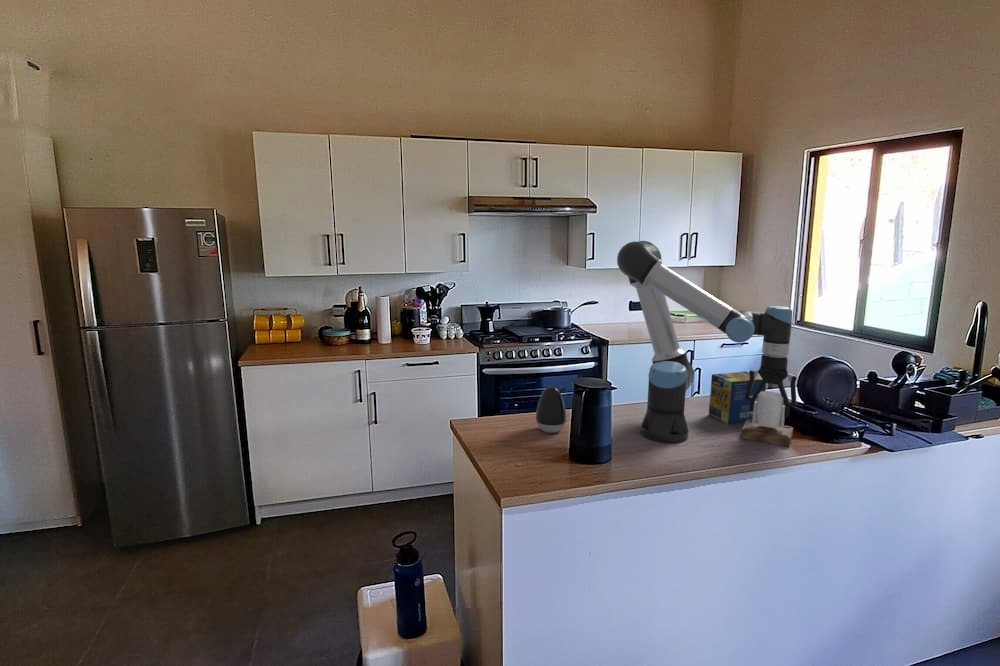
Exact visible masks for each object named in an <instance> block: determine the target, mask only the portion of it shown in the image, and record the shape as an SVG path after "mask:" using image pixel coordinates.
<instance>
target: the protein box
mask: <svg viewBox="0 0 1000 666" xmlns="http://www.w3.org/2000/svg"><path fill="white" fill-rule="evenodd" d="M710 379H711V381H710V392H709V407H708V416H709V417H712V418H714V419H717V420H719V421H721V422H722V423H725V424H726V425H729V424H732V425H734V424H741V423H745V422H746V420H753V412H751V411H750V401H749V400H746V399H745V395H746V391H747V387H748V384H749V380H750V374H749V372H748V371H737V372H725V373H713V374H711V378H710ZM762 380H763V379H762V377H761V376H760V375H757V376H756V377H755V379H754V383H753V387H752V390H751V394H750V396H752V397H753V395H754V394H755V392H756V390H757V388H758V387H759V385H760V383H761V382H762ZM766 386H767V383H765V385H764V386H763V388H762V390H761V391H760V392H762V391H766V389H767V387H766ZM755 401H757V398H756V400H755ZM756 420H757V415H756Z"/></svg>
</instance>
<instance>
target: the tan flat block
mask: <svg viewBox="0 0 1000 666" xmlns="http://www.w3.org/2000/svg"><path fill="white" fill-rule="evenodd" d="M780 425H781V424H780ZM780 425H779V427H776V428H770V427H764V426H761V425H759V424H757V422H756V421H755V423H754V422H752V420H746V422H744V425H743V426H742V428H741V431H740V432H741V434H740V438H741V439H744V440H745V439H746V440H750V441H751V440H752V441H755V442H761V443H766V444H767V443H768V444H771V445H777V446H782V447H787V448H790V445H791V442H792V440H793V433H794V427H792V426H790V425H785V424H784V426H783V427H780Z"/></svg>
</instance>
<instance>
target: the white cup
mask: <svg viewBox="0 0 1000 666" xmlns="http://www.w3.org/2000/svg"><path fill="white" fill-rule="evenodd" d="M783 399H784V398H782V396H781V393H779V392H775V391H766V390H765V391H762V392H760V393H759V394H758V396H757V420H756V422H757V424H759V425H761V426H764V427H770V428H776V427H779V425H781V415H782V407H783V405H784V402H783Z"/></svg>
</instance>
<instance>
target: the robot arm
mask: <svg viewBox="0 0 1000 666" xmlns="http://www.w3.org/2000/svg"><path fill="white" fill-rule="evenodd" d="M616 262H617V263H616V264H617V267H618V269H619V270H620V271H621V272H622V274H624V275H625V276H627V278H628V281H629V285H630V286H632V287H634V288H635V289H636V292H637V295H638V300H639V303H640V306H641V309H642V314H643V317H644V320H645V324H646V328H647V331H648V335H649V339H650V342H651V343H650V344H651V345H652V350H653V354H654V355H652V356H653V357H652V358H651V362H652V364H651V365H650V367H649V371H648V374H647V375H648V385H647V387H648V388H647V406H646V407H647V408H646V412H645V414H644V417H643V419H642V421H641V424H640V431H639V432H640V434H641V435H642V436H643V437H644V438H647V439H649V440H652V441H656V442H662V443H663V442H664V443H679V442H684V441H687V439H688V438H689V428H688V427H689V426H688V424H687V420H686V416H685V407H686V406H685V404H686V394H687V391H688V390H689V388H690V386H691V385H692V384H693V381H694V377H695V371H694V368H693V365H692V364H691V363H690V361H689V359H688V356H687V352H686V350H684V349H683V348H681V347H680V344H679V342H678V338H677V337H678V336H677V333H676V331H675V330H676V329H675V327H674V323H673V319H672V316H671V313H670V310H669V305H668V302H667V297H668V298H669V299H670V300H672V301H674V302H676V303H677V304H678V305H680V306H681V307H683V308H685V309H687V310H688V311H690V312H691V313H693V314H695V315H696V316H697V317H699V318H700V319H701V320H704V321H705V322H707V323H709V324H710V325H712V326H713V327H715V328H716V329H718V330H720V332H722V333H724V334H725V335H726V336H727V337H728V338H729V340H731V341H732V342H734V343H739V344H741V343H745V342H747V341H749V340H750V339H751V338H752V337H753V336H762V337H763V338H762V339H763V340H762V349H761V352H762V355H761V358H760V359H761V360H760V367H759V369H750V370H749V372H748V373H749V374H750V380H749V384H748V387H747V391H746V395H745V399H746V400H749V401H750V411H751V412H753V420H752V422H754V423H755V421H756V415H757V401H755V400H756V398H757V396H758V394H759V393H760V391H761V390H762V388H763V386H764V385H765V383H766V384H771V385H772V384H773V385H774V386H776V385H777V388H778V390H779V392H780V393H779V394H781V396H782V398H784V399H783V402H784V404H783V407H782V415H781V419H780V427H783V426H784V425H785V418H788V417H789V415H790V409H791V408H796V406H797V392H796V391H797V389H796V387H797V386H796V381H797V378H798V374H797V375H796V374H791V373H789V372H788V362H789V361H788V360H789V358H788V356H789V353H790V343H791V342H790V341H791V332H792V326H793V325H792V324H793V309H792V308H790V307H788V306H783V305H782V306H781V305H769V306H767V307H766V309H765V311H751V310H738V309H735V308H733V307H731V306H729V305H728V304H727V303H725V302H723V301H722V300H720V299H718V298H716V297H715V296H713V295H712V294H710V293H709V292H707V291H705V290H704V289H702V288H700V287H699V286H697V285H696V284H694V283H692V282H691V281H690V280H688V279H686V278H685V277H683V276H681V275H680V274H678V273H677V272H675V271H673V270H671V269H670V268H668V267H667V266H665V265H664V264H663V262H662V253H661V251H660V249H659V248H658V247H657V246H656V244H654V243H652V242H650V241H647V240H638V241H630V242H627V243H626V244H624V245H623V246H622V247H621V248H620V249H619V252H618V253H617V258H616ZM758 374H759V376H760V377H762V379H763V380H762V382H761V383H760V385H759V387H758V388H757V390H756V392H755V394H754V395H753V397H752V396H750V394H751V390H752V387H753V383H754V379H755V377H756V376H758ZM787 378H788V382H790V386H789V387H790V399H791V400H789V397H788V395H787V392H786V389H785V388H786V387H785V385H784V382H783V381H784V380H786V379H787ZM790 401H791V402H790Z"/></svg>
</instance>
